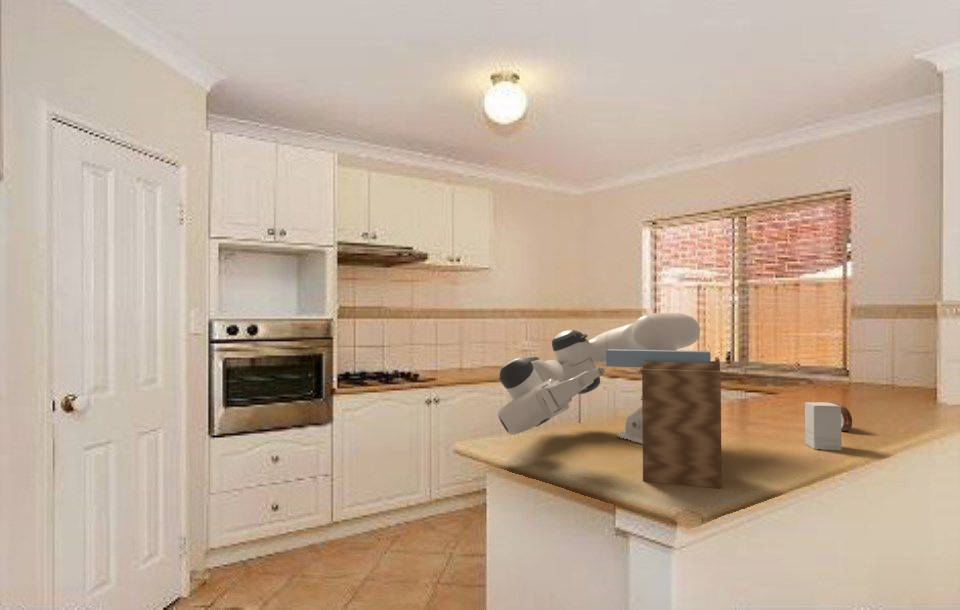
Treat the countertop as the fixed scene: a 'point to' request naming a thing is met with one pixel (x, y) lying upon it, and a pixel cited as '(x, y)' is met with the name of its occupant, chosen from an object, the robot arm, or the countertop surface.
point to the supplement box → (823, 425)
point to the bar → (653, 357)
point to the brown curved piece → (845, 418)
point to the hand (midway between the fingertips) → (601, 370)
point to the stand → (682, 423)
